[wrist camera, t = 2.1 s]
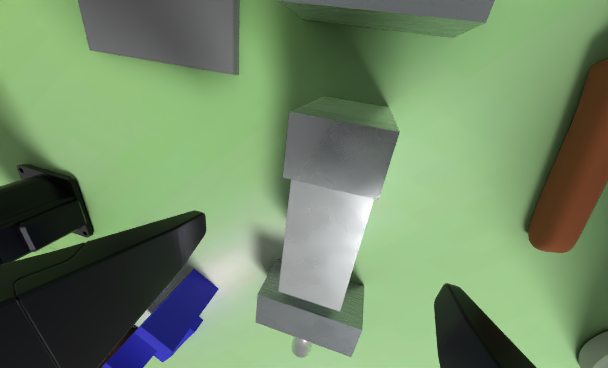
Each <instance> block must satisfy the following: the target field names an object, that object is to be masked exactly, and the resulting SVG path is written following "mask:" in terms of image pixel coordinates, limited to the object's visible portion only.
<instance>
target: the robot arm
mask: <svg viewBox="0 0 608 368" xmlns="http://www.w3.org/2000/svg"><path fill="white" fill-rule="evenodd" d="M17 170H18V172H19V174H20V176H21V179H22V180H20V181H16V182H13V183H10V184H6V185H3V186H0V368H98V367H99V365H100V364H101V363H102V362H103V361H104V359H105V358H106V357H107V356H108V355H109V354H110V352H111V351H112V350H113V349H114V348H115V346H116V345H117V344H118V343H119V342H120V341H121V339H122V338H123V337H124V336H125V335H126V333H127V332H128V331H129V330H130V329H131V328H132V326H133V325H134V324H135V323H136V322H137V320H138V319H139V318H140V317H141V316H142V315H143V313H144V312H145V311H146V310H147V309H148V307H149V306H150V305H151V304H152V303H153V301H154V300H155V299H156V298H157V297H158V296H159V294H160V293H161V292H162V291H163V290H164V288H165V287H166V286H167V285H168V284H169V283H170V281H171V280H172V279H173V278H174V277H175V275H176V274H177V273H178V272H179V271H180V269H181V268H182V267H183V266H184V264H185V263H186V261H187V260H188V259H189V257H190V256H191V254H192V253H193V251H194V250H195V248H196V247H197V245H198V244H199V243H200V241H201V240H202V238H203V237H204V235H205V233H206V217H205V214H204V213H202V212H199V211H191V212H187V213H184V214H180V215H177V216H174V217H170V218H167V219H163V220H160V221H156V222H153V223H150V224H146V225H143V226H139V227H136V228H132V229H129V230H126V231H122V232H119V233H115V234H112V235H108V236H105V237H102V238H98V239H95V240H91V241H88V242H86V243H81V244H77V245H74V246H71V247H67V248H63V249H60V250H56V251H53V252H49V253H45V254H41V255H37V256H33V257H29V258H25V259H22V260H17V259H19V258H21V257H23V256H25V255H27V254H29V253H31V252H35V251H38V250H39V249H41V248H43V247H45V246H47V245H49V244H51V243H53V242H55V241H57V240H59V239H60V238H62V237H64V236H66V235H68V234H70V233H75V234H78V235H81V236H84V237H90V236H92V235H93V230H92V227H91V224H90V221H89V218H88V215H87V212H86V209H85V206H84V203H83V200H82V197H81V194H80V191H79V188H78V185H77V183H76V181H75V180H74V179H73V178H71V177H67V176H64V175H60V174H57V173H53V172H50V171H47V170H43V169H40V168H36V167H33V166H30V165H26V164H22V165H18V166H17ZM15 260H17V261H15ZM434 311H435V324H436V337H437V349H438V357H439V363H440V368H536V367H535V366H534V365H533V363H532V362H531V361H530V360H529V359H528V358H527V357H526V356H525V355H524V354H523V353H522V352H521V351H520V350H519V349H518V348H517V347H516V346H515V345H514V344H513V342H512V341H511V340H510V339H509V338H508V337H507V336H506V335H505V334H504V333H503V332H502V331H501V330H500V329H499V328H498V327H497V326H496V325H495V324H494V323H493V321H492V320H491V319H490V318H489V317H488V316H487V315H486V314H485V313H484V312H483V311H482V310H481V309H480V308H479V307H478V306H477V305H476V304H475V303H474V302H473V300H472V299H471V298H470V297H469V296H468V295H467V294H466V293H465V292H464V291H463V290H462V289H461V288H460V287H458V286H455V285H452V284H448V283H446V284H444V285H443V287H442V288H441V290H440V292H439V294H438V295H437V297H436V299H435V302H434Z"/></svg>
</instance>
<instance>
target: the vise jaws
mask: <svg viewBox="0 0 608 368" xmlns="http://www.w3.org/2000/svg"><path fill="white" fill-rule="evenodd" d="M278 1H279V2H281V3H282V4H283V5H285V6H286V7H287V8H289V9H290V10H291V11H293V12H294V13H295V14H297V15H298V16H299V17H300V18H302V19H303V20H311V21H319V22H328V23H336V24H344V25H353V26H361V27H370V28H378V29H386V30H395V31H403V32H412V33H420V34H428V35H437V36H445V37H456V36H458V35H460V34H462V33H464V32H467V31H469V30H471V29H473V28H475V27H477V26H480V25H482V24H484V23H486V21H487V18H488V16H489V13H490V11H491V8H492V6H493V3H494V1H495V0H278ZM281 264H282V260H279V259H276V261H275V263H274V265H273V266H272V268H271V270H270V272H269V274H268V276H267V278H266V280H265V282H264V283H263V285H262V287H261V289H260V291H259V293H258V297H257V311H256V323H259V324H262V325H265V326H267V327H270V328H273V329H276V330H278V331H281V332H284V333H286V334H289V335H292V336H293V341H292V351H293V353H294V354H295V355H296V356H298V357H305V356H307V355H308V354H309V352H310V349H311V345H312V343H314V344H317V345H319V346H322V347H325V348H328V349H330V350H333V351H336V352H339V353H341V354H344V355H347V356H349V357H352V354H353V352H354V349H355V347H356V344H357V342H358V339H359V337H360V334H361V332H362V323H363V302H364V286H363V285H360V284H357V283H353V282H350V281H349V283H348V287H347V290H346V293H345V297H344V300H343V303H342V307H341V310H340V311H337V310H334V309H331V308H328V307H325V306H322V305H319V304H315V303H312V302H309V301H306V300H303V299H300V298H297V297H294V296H291V295H288V294H285V293H282V292H279V291H278V290H279V282H280V273H281Z"/></svg>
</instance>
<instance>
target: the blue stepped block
mask: <svg viewBox="0 0 608 368" xmlns="http://www.w3.org/2000/svg"><path fill="white" fill-rule="evenodd" d="M217 291H218V288H217V287H215V286H214V285H213V284H212V283H211V282H209V281H208V280H207V279H206V278H205V277H204V276H202V275H201V274H200V273H199V272H198V271H196V270H195V269H194V270H193V271H192V272H191V273H190V274H189V275H188V276H187V277H186V278H185V279H184V280H183V281H182V282H181V283H180V284H179V285H178V286H177V288H176V289H175V290H174V291H173V292H172V293H171V294H170V295H169V296H168V297H167V298H166V299H165V300H164V301H163V302H162V303H161V304H160V305H159V306H158V308H157V309H156V310H155V311H154V312H153V313H152V314H151V315H150V316H149V317H148V318H147V319H146V320H145V321H144V322H143V323H142V325H141V326H140V327H139V328H138V329H137V330H136V331H135V332H134V333H133V334H132V335H131V336H130V337H129V339H128V340H127V341H126V342H125V343H124V344H123V345H122V346H121V347H120V348H119V349H118V350H117V351H116V352H115V354H114V355H113V356H112V357H111V358H110V359H109V360H108V361H107V362H106V363H105V364H104V365H103V366H102V368H143V367H144V366H145V365H146V364H147V362H148V361H149V360H150V359H151V358H152V356H153V355H154V356H155V357H156V358H158V359H159V360H160V361H162V362H164V361H165V360H167V359H168V358H170V357H171V356H172V355H173V354H174V353H175V352H176V350H177V349H178V348H179V347H180V346H181V345H182V344H183V343H184V342H185V341H186V340H187V339H188V338H189V337H190V336H191V335H192V334H193V333H194V332H195V331H196V330H197V328H198V327H199V325H200V324H201V323H202V321H203V320H202V319H201V318H200V317H199V315H200V314H201V313H202V311H203V310H204V308H205V307H206V306H207V304H208V303H209V302H210V300H211V299H212V297H213V296H214V295H215V293H216V292H217Z"/></svg>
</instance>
